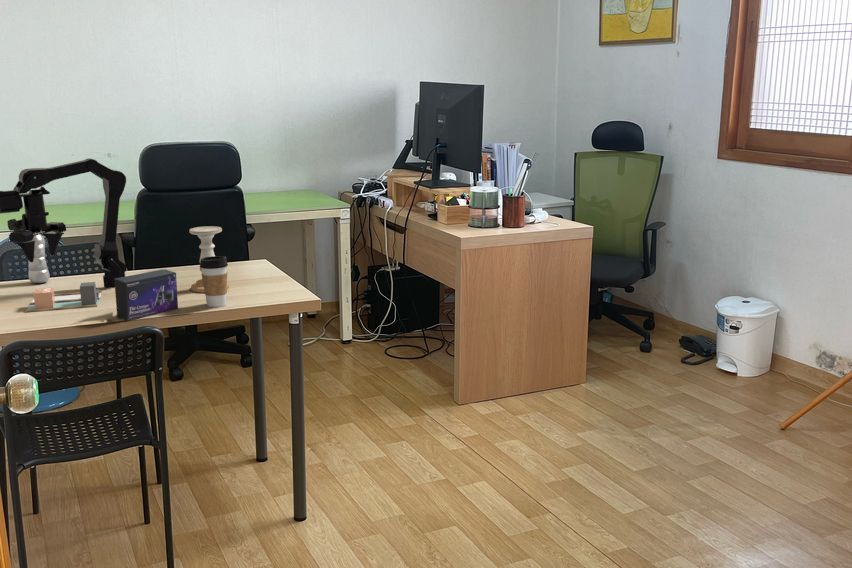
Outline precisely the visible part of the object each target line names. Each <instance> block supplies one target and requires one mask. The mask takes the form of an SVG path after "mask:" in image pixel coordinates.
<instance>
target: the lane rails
mask: <svg viewBox="0 0 852 568" xmlns="http://www.w3.org/2000/svg"><path fill="white" fill-rule="evenodd" d="M99 293H101V294H102V290H100V289H99ZM79 294H80V291H78V292H63V293H54V295H55V296H67V295H79ZM100 298H101V296H100V297H97V300H99V301H100ZM76 301H81V299H70V300H58V301H55V303H64V302H76ZM29 305H35V302H33V303H31V302H29ZM96 307H98V305H97V304H96V305H84V306H71V307H59V308H47V309H35V310H27V309H26V310H24V313H28V314H29V313H38V312H50V311H52V312H53V311H63V310H75V309H85V308H86V309H87V308H89V309H90V308H96Z"/></svg>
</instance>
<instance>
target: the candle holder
mask: <svg viewBox="0 0 852 568" xmlns="http://www.w3.org/2000/svg"><path fill="white" fill-rule="evenodd" d="M222 231H223V228H222V227H221V226H214V225H213V226H212V225H211V226H210V225H209V226H206V225H205V226H197V227H193V228H192V227H191V228H189V234H191V235H196V236H197V237H198V238H199V239H200V242H201V243H200V244H199V246H198V248H199V249H200V250H201V251H200V256H199V262H200V261H201V259H202V258H205V257H212V256H216V255H215V252H214V248H215V247H216V245H215V244H214V243H213V238H214V237H215V235H216V234H219V233H222ZM199 271H200V272H201V273H202V270H201V268H200V267H199ZM229 288H230V284H229V282H228V281H227V290H228V289H229ZM190 289H191V291H192V292H194V293H200V294H201V293H202V294H205V291H204V285H203V280H202V278H200V279H198V280H196V282H194V283H192V284H191V286H190Z"/></svg>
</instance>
